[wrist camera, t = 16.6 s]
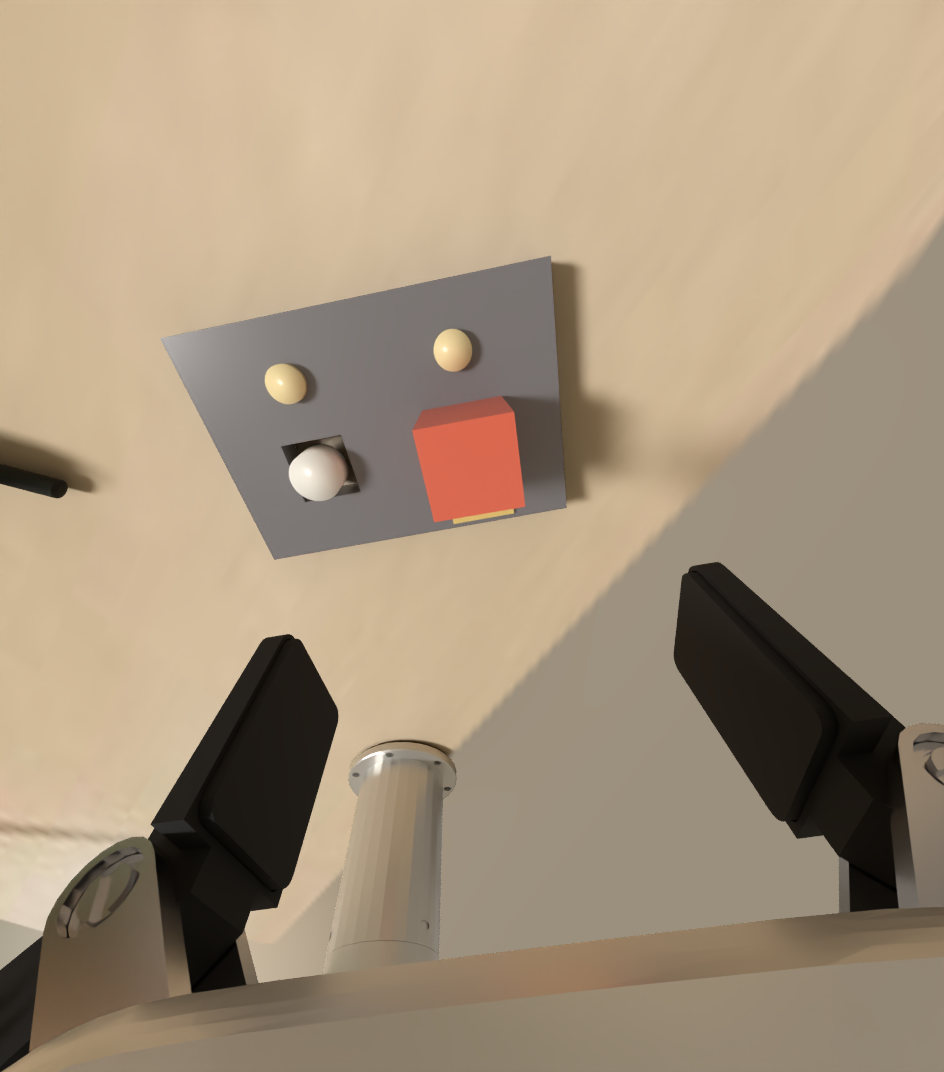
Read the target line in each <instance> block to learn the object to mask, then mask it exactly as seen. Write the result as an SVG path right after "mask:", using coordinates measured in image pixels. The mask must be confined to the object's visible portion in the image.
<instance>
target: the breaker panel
mask: <svg viewBox="0 0 944 1072" xmlns="http://www.w3.org/2000/svg"><path fill="white" fill-rule="evenodd" d="M160 339H161V341H162V343H163V345H164V347H165V349H166V351H167V353H168V355H169V357H170V358H171V360H172V362H173V364H174V366H175V368H176V370H177V372H178V374H179V376H180V378H181V380H182V382H183V384H184V386H185V388H186V389H187V391H188V393H189V395H190V397H191V399H192V401H193V403H194V405H195V407H196V409H197V411H198V413H199V415H200V417H201V418H202V420H203V422H204V424H205V426H206V428H207V430H208V432H209V434H210V436H211V438H212V440H213V442H214V444H215V446H216V448H217V449H218V451H219V453H220V455H221V457H222V459H223V461H224V463H225V465H226V467H227V469H228V471H229V473H230V475H231V477H232V479H233V480H234V482H235V484H236V486H237V488H238V490H239V492H240V494H241V496H242V498H243V500H244V502H245V504H246V506H247V508H248V510H249V511H250V513H251V515H252V517H253V519H254V521H255V523H256V525H257V527H258V529H259V531H260V533H261V535H262V537H263V539H264V541H265V542H266V544H267V546H268V548H269V550H270V552H271V554H272V556H273V558H274V560H275V559H281V558H286V557H292V556H298V555H303V554H309V553H315V552H320V551H326V550H331V549H337V548H343V547H348V546H354V545H360V544H365V543H371V542H377V541H382V540H388V539H393V538H399V537H405V536H410V535H416V534H422V533H427V532H433V531H439V530H444V529H450V528H455V527H461V526H467V525H472V524H478V523H484V522H489V521H495V520H501V519H506V518H512V517H517V516H523V515H529V514H534V513H540V512H546V511H551V510H557V509H563V508H566V492H565V476H564V460H563V444H562V428H561V412H560V396H559V380H558V364H557V348H556V332H555V317H554V301H553V285H552V269H551V256H548V257H543V258H538V259H533V260H529V261H524V262H519V263H514V264H510V265H505V266H500V267H496V268H491V269H486V270H481V271H477V272H472V273H467V274H462V275H458V276H453V277H448V278H444V279H439V280H434V281H429V282H425V283H420V284H415V285H410V286H406V287H401V288H396V289H391V290H387V291H382V292H377V293H373V294H368V295H363V296H358V297H354V298H349V299H344V300H339V301H335V302H330V303H325V304H321V305H316V306H311V307H306V308H302V309H297V310H292V311H287V312H283V313H278V314H273V315H269V316H264V317H259V318H254V319H250V320H245V321H240V322H235V323H231V324H226V325H221V326H217V327H212V328H207V329H202V330H198V331H193V332H188V333H183V334H179V335H174V336H169V337H164V338H160ZM497 396H502V397H503V398H504V400H505V401H506V402H507V403H508V405H509V406H510V407H511V408H512V410H513V411H514V415H515V423H516V432H517V440H518V449H519V457H520V466H521V474H522V483H523V491H524V500H525V507H521V508H515V509H509V510H503V511H497V512H492V513H486V514H480V515H474V516H468V517H462V518H457V519H451V520H445V521H439V522H434V520H433V515H432V511H431V507H430V503H429V499H428V495H427V490H426V486H425V482H424V478H423V474H422V470H421V466H420V461H419V457H418V453H417V449H416V445H415V441H414V436H413V432H412V430H413V428H414V426H415V424H416V422H417V420H418V418H419V416H420V414H421V412H422V410H428V409H433V408H438V407H444V406H449V405H455V404H460V403H465V402H471V401H476V400H481V399H487V398H492V397H497ZM337 435H341V436H342V439H343V442H344V445H345V448H346V451H347V454H348V457H349V459H350V462H351V465H352V468H353V471H354V474H355V477H356V480H357V482H358V483H355V484H350V485H344V486H342V487H341V488H340V490H339V491H338V493H337V494H336V495H335V496H334V497H332V498H331V499H329V500H325V501H314V500H310V499H307V498H305V497H303V496H302V495H300V494H299V493H298V492H297V491H296V490H295V489H294V487H293V486H292V484H291V482H290V479H289V467H290V465H291V463H292V461H293V460H294V459H295V458H296V457H297V456H299V453H298V451H297V448H296V446H295V444H296V443H301V442H306V441H311V440H317V439H322V438H327V437H332V436H337Z"/></svg>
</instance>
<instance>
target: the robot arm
mask: <svg viewBox="0 0 944 1072" xmlns="http://www.w3.org/2000/svg"><path fill="white" fill-rule="evenodd" d="M674 660H675V664H676V666H677V669H678V670H679V672H680V673H681V675H682V677H683V678H684V680H685V681H686V683H687V684H688V686H689V687H690V689H691V690H692V692H693V693H694V695H695V696H696V698H697V699H698V701H699V703H700V704H701V705H702V707H703V709H704V710H705V711H706V713H707V715H708V716H709V718H710V720H711V721H712V723H713V724H714V725H715V727H716V729H717V730H718V732H719V733H720V735H721V736H722V738H723V739H724V741H725V742H726V744H727V746H728V747H729V749H730V750H731V752H732V753H733V755H734V756H735V758H736V760H737V761H738V763H739V764H740V765H741V767H742V769H743V770H744V772H745V773H746V775H747V776H748V778H749V779H750V781H751V783H752V784H753V785H754V787H755V789H756V790H757V792H758V793H759V795H760V796H761V798H762V799H763V801H764V802H765V804H766V805H767V807H768V809H769V810H770V811H771V813H772V814H773V815H774V816H775V817H776V818H777V819H778V820H780V821H786V823H787V824H788V826H789V827H790V829H791V830H792V831H793V833H794V835H795V836H796V838H797V839H798V838H806V837H813V836H821V835H824V837H825V838H826V840H827V841H828V842H829V844H830V845H831V847H832V848H833V849H834V851H835V852H836V853H837V855H838V856H839V913H838V914H827V915H816V916H806V917H796V918H786V919H774V920H766V921H757V922H749V923H741V924H732V925H723V926H715V927H706V928H698V929H689V930H682V931H672V932H664V933H655V934H647V935H639V936H630V937H621V938H613V939H605V940H597V941H588V942H580V943H572V944H564V945H555V946H547V947H539V948H531V949H523V950H515V951H507V952H499V953H490V954H482V955H474V956H466V957H458V958H450V959H442V960H439V934H440V933H439V932H440V892H441V891H440V890H441V888H440V887H441V849H442V808H443V799H444V798H445V797H447V796H448V795H449V794H450V793H451V792H452V790H453V789H454V787H455V783H456V769H455V766H454V763H453V762H452V761H451V759H450V758H449V757H448V756H447V755H445V754H444V753H443V752H441V751H439V750H438V749H436V748H433V747H430V746H428V745H424V744H420V743H412V742H393V743H385V744H381V745H377V746H375V747H372V748H370V749H368V750H366V751H364V752H363V753H361V754H360V755H359V756H358V757H357V758H356V759H355V760H354V761H353V763H352V765H351V768H350V772H349V779H348V781H349V785H350V787H351V789H352V790H353V792H354V793H355V794H356V795H357V796H358V800H357V805H356V810H355V815H354V820H353V825H352V830H351V835H350V840H349V845H348V850H347V855H346V860H345V865H344V870H343V875H342V880H341V885H340V890H339V895H338V900H337V904H336V909H335V915H334V920H333V924H332V929H331V934H330V939H329V945H328V950H327V954H326V959H325V965H324V970H323V974H322V975H316V976H309V977H301V978H293V979H286V980H277V981H271V982H264V983H258V980H257V976H256V972H255V968H254V964H253V961H252V957H251V953H250V949H249V945H248V941H247V937H246V933H245V929H244V928H245V925H246V922H247V920H248V917H249V914H250V911H255V910H263V909H270V908H277V907H278V904H279V900H280V897H281V894H282V891H283V889H284V888H286V887H287V886H288V885H289V884H290V882H291V880H292V877H293V874H294V871H295V868H296V864H297V861H298V857H299V854H300V850H301V847H302V844H303V840H304V837H305V833H306V830H307V826H308V823H309V819H310V816H311V813H312V809H313V806H314V802H315V799H316V795H317V792H318V789H319V785H320V782H321V778H322V775H323V771H324V768H325V765H326V761H327V758H328V754H329V751H330V747H331V744H332V741H333V737H334V734H335V730H336V727H337V723H338V709H337V707H336V705H335V703H334V701H333V699H332V697H331V696H330V694H329V692H328V690H327V688H326V686H325V684H324V683H323V681H322V679H321V677H320V675H319V673H318V671H317V670H316V668H315V666H314V664H313V662H312V660H311V658H310V656H309V655H308V653H307V651H306V649H305V647H304V645H303V643H302V642H301V640H299V639H295V638H294V637H293V636H292V635H290V634H286V635H280V636H275V637H269V638H265V639H263V641H262V642H261V643H260V645H259V646H258V648H257V650H256V651H255V653H254V655H253V656H252V658H251V660H250V661H249V663H248V665H247V666H246V668H245V670H244V671H243V673H242V674H241V676H240V678H239V679H238V681H237V683H236V684H235V686H234V688H233V689H232V691H231V693H230V694H229V696H228V698H227V699H226V701H225V703H224V704H223V706H222V707H221V709H220V711H219V712H218V714H217V716H216V717H215V719H214V721H213V722H212V724H211V726H210V727H209V729H208V731H207V732H206V734H205V735H204V737H203V739H202V740H201V742H200V744H199V745H198V747H197V749H196V750H195V752H194V754H193V755H192V757H191V759H190V760H189V762H188V763H187V765H186V767H185V768H184V770H183V772H182V773H181V775H180V777H179V778H178V780H177V782H176V783H175V785H174V787H173V788H172V790H171V791H170V793H169V795H168V796H167V798H166V800H165V801H164V803H163V805H162V806H161V808H160V810H159V811H158V813H157V815H156V816H155V818H154V820H153V821H152V823H151V825H152V826H153V827H154V830H153V832H152V833H151V835H150V837H149V838H148V839H146V838H144V837H131V838H128V839H126V840H123V841H120V842H118V843H116V844H114V845H113V846H111V847H109V848H108V849H106V850H104V851H103V852H101V853H100V854H99V855H98V856H97V857H95V858H94V859H93V860H92V861H90V862H89V863H88V864H87V865H86V866H85V867H84V868H83V869H82V870H81V871H80V872H79V873H78V874H77V875H76V876H75V877H74V878H73V879H72V880H71V881H70V883H69V884H68V886H67V887H66V888H65V890H64V891H63V892H62V894H61V895H60V896H59V898H58V899H57V901H56V903H55V905H54V906H53V908H52V910H51V912H50V914H49V916H48V918H47V921H46V925H45V928H44V932H43V936H42V937H41V938H40V939H38V940H37V941H36V942H34V943H33V944H32V945H31V946H30V947H28V948H27V949H26V950H25V951H23V952H22V953H21V954H20V955H18V956H17V957H16V958H15V959H14V960H12V961H11V962H10V963H9V964H7V965H6V966H5V967H4V968H2V969H1V970H0V1072H944V725H941V724H930V723H928V724H927V723H919V724H915V725H911V726H908V727H907V728H905V727H904V726H903V725H902V724H901V723H900V722H899V721H898V720H896V719H895V718H894V717H893V716H892V715H891V714H890V713H889V712H888V711H887V710H886V709H884V708H883V707H882V706H881V705H880V704H879V703H878V702H877V701H875V700H874V699H873V698H872V697H871V696H870V695H869V694H868V693H867V692H865V691H864V690H863V689H862V688H861V687H860V686H859V685H858V684H856V683H855V682H854V681H853V680H852V679H851V678H850V677H848V676H847V675H846V674H845V673H844V672H843V671H842V670H841V669H840V668H838V667H837V666H836V665H835V664H834V663H833V662H832V661H831V660H829V659H828V658H827V657H826V656H825V655H824V654H823V653H822V652H821V651H819V650H818V649H817V648H816V647H815V646H814V645H812V644H811V643H810V642H809V641H808V640H807V639H806V638H805V637H804V636H802V635H801V634H800V633H799V632H798V631H797V630H796V629H795V628H794V627H792V626H791V625H790V624H789V623H788V622H787V621H786V620H785V619H783V618H782V617H781V616H780V615H779V614H777V612H776V611H774V610H773V609H772V608H771V607H770V606H769V605H768V604H767V603H765V602H764V601H763V600H762V599H761V598H760V597H759V596H758V595H756V594H755V593H754V592H753V591H752V590H751V589H750V588H749V587H747V586H746V585H745V584H744V583H743V582H742V581H741V580H740V579H739V578H737V577H736V576H735V575H734V574H733V573H732V572H731V571H730V570H728V569H727V568H726V567H725V566H724V565H722V564H721V563H719V562H714V563H708V564H702V565H696V566H692V567H690V569H689V572H688V573H686V574H684V575H683V576H682V582H681V591H680V600H679V610H678V619H677V628H676V637H675V647H674Z"/></svg>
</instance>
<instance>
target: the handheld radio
mask: <svg viewBox="0 0 944 1072" xmlns="http://www.w3.org/2000/svg"><path fill="white" fill-rule="evenodd" d="M0 484H3V485H7V486H11V487H15V488H19V489H23V490H26V491H30V492H34V493H38V494H42V495H46V496H50V497H53V498H61V497H62V496H64V495H65V493H66V492H67V489H68V486H67V483H66V482H65V481H62V480H59V479H55V478H51V477H47V476H43V475H39V474H36V473H32V472H28V471H24V470H20V469H17V468H13V467H9V466H5V465H1V464H0Z"/></svg>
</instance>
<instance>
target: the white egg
mask: <svg viewBox="0 0 944 1072" xmlns="http://www.w3.org/2000/svg"><path fill="white" fill-rule="evenodd" d="M348 472H349V469H348V464H347V461H346V459H345V458H344V456H343V455H342V454H341V453H340V452H339V451H338V450H337V449H335V448H333V447H331V446H329V445H325V444H316V445H312V446H310V447H308V448H307V449H306V450H304V451H303V452H302V453H301V454H300V455H299V456H297V457H296V458H295V459H294V460H293V461H292V463H291V465H290V467H289V479H290V482H291V484H292V486H293V487H294V489H295V490H296V491H297V492H298V493H299V494H300V495H302V496H303V497H305V498H307V499H310V500H314V501H325V500H329V499H331V498H332V497H334V496H335V495H336V494H337V493H338V491H339V490H340V488H341V487H342V485H343V484H344V482H345V481H346V479H347V477H348Z"/></svg>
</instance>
